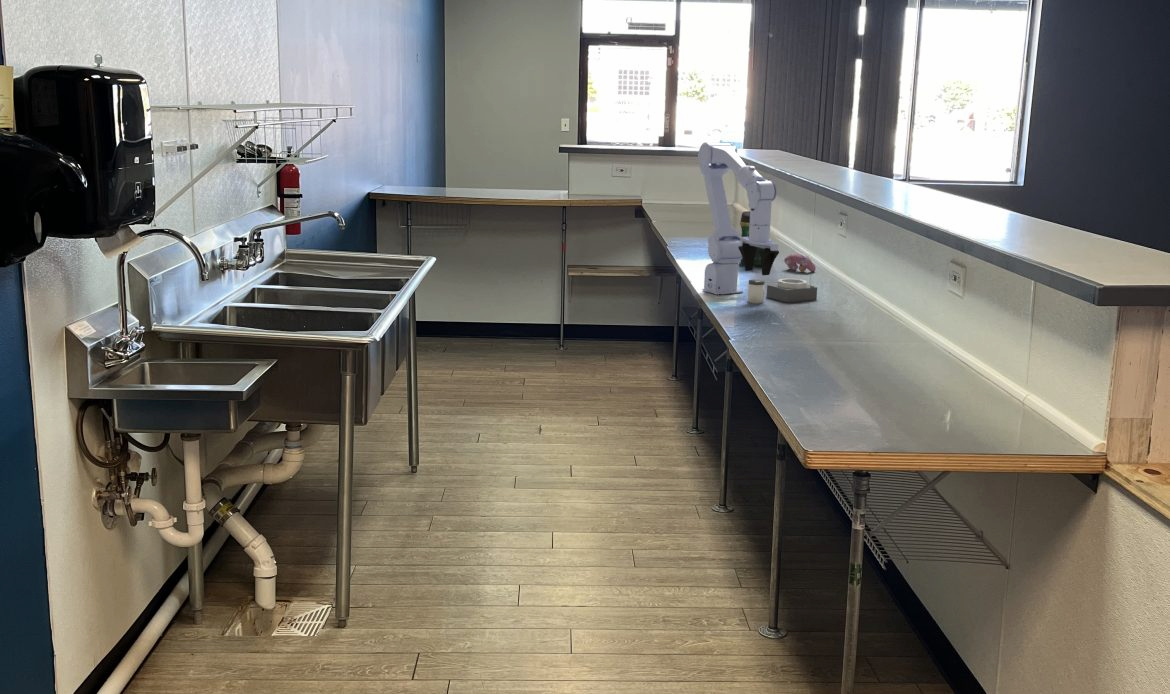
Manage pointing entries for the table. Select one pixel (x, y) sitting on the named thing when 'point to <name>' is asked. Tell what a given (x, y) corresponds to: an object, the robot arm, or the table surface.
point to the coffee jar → (745, 233)
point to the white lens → (756, 291)
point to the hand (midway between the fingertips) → (757, 272)
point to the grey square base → (792, 290)
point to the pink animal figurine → (799, 262)
